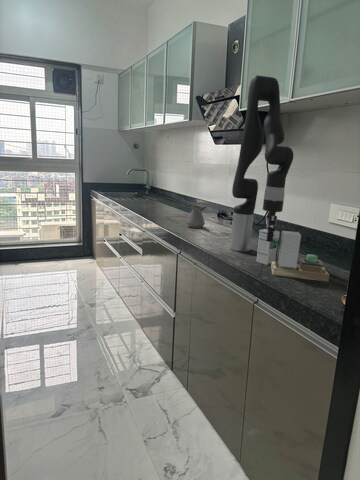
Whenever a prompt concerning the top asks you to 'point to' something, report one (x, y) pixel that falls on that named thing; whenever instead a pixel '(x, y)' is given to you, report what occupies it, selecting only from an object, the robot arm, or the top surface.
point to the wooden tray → (302, 272)
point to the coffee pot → (196, 217)
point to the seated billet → (289, 250)
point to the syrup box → (267, 247)
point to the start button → (311, 258)
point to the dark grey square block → (303, 262)
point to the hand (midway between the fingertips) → (268, 239)
